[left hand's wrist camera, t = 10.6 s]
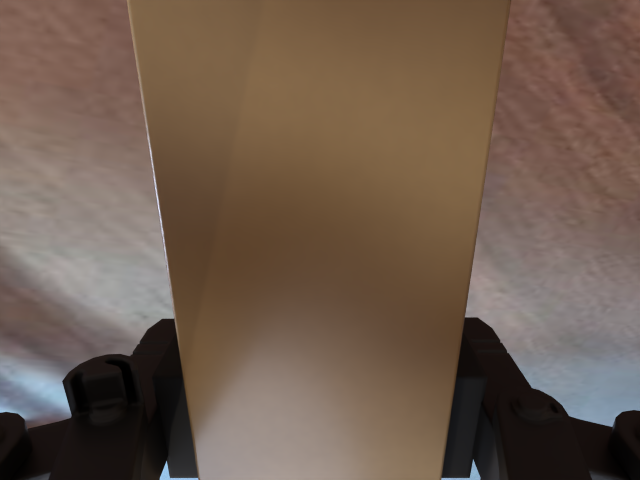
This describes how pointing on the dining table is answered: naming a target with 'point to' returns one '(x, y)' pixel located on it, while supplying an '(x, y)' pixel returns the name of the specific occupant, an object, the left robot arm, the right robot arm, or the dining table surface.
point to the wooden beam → (319, 221)
